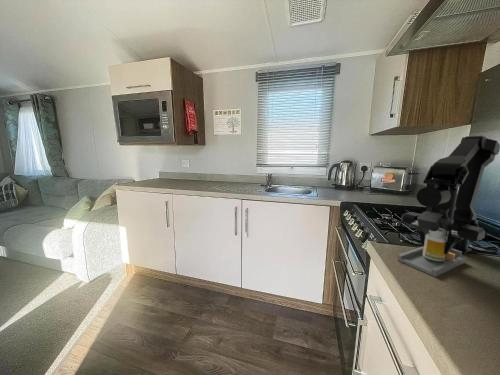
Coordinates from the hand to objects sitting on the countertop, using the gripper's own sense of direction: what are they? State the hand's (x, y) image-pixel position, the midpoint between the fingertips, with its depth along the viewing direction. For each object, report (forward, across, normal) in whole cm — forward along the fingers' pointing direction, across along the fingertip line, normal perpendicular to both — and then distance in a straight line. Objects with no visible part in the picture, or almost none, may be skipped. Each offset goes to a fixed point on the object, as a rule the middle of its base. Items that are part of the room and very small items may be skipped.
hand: (434, 250), depth 66 cm
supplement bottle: (+3, 0, 0) cm, 3 cm away
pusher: (+4, 0, +4) cm, 5 cm away
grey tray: (+4, 0, -1) cm, 4 cm away
